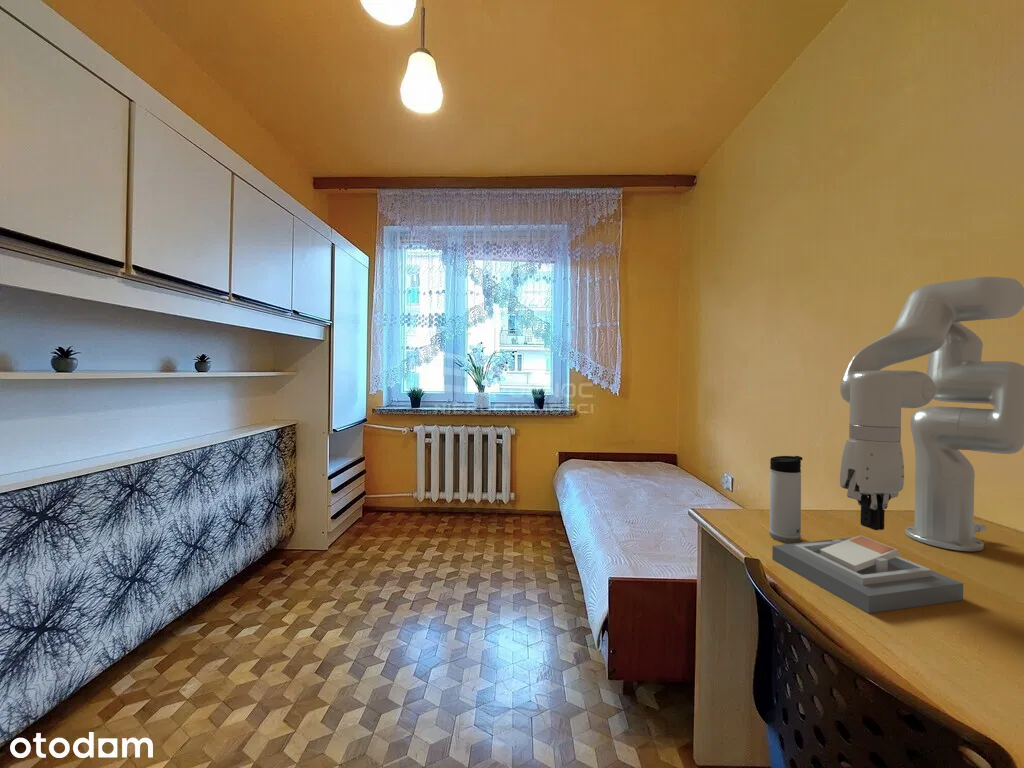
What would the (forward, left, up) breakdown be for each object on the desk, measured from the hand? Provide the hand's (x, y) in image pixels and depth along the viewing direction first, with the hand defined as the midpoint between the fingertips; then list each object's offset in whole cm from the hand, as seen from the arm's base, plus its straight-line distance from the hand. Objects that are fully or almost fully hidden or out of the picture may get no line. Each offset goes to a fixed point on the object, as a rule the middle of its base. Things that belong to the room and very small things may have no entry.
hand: (872, 527), depth 80 cm
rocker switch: (+3, 0, -5) cm, 6 cm away
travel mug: (+1, -19, -10) cm, 22 cm away
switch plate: (+3, 0, -10) cm, 10 cm away
